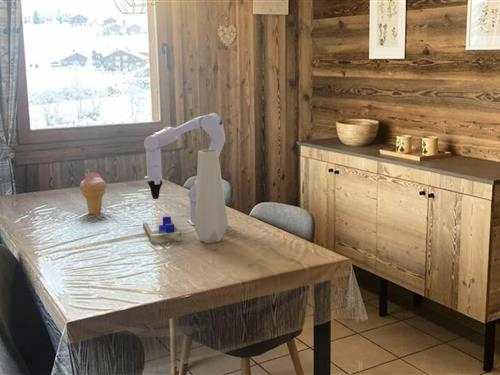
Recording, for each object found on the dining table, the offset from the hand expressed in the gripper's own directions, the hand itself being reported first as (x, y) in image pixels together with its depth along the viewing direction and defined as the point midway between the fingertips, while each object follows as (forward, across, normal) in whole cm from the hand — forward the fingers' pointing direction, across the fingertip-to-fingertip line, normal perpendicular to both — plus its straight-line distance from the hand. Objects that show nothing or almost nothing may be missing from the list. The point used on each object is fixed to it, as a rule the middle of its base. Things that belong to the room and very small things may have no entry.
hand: (155, 198), depth 245 cm
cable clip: (+10, +22, 0) cm, 24 cm away
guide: (+9, +18, -1) cm, 20 cm away
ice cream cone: (+10, -22, -23) cm, 33 cm away
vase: (+10, +32, +15) cm, 37 cm away
